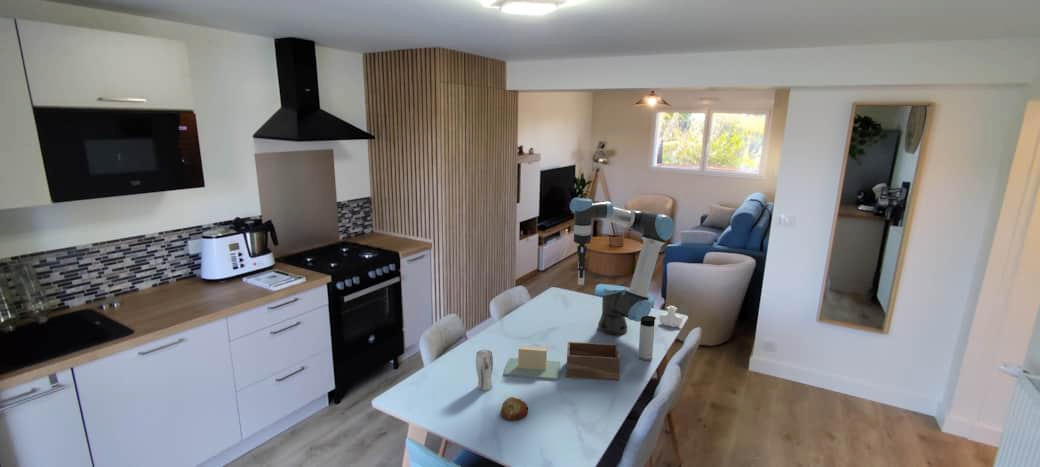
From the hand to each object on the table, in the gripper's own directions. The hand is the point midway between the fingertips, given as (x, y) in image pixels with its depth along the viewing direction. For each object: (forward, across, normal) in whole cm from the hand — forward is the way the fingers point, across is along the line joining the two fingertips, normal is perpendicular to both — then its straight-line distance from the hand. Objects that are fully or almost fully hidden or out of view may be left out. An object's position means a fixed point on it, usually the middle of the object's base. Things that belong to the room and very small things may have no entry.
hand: (580, 279), depth 219 cm
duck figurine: (+37, -42, +50) cm, 75 cm away
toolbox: (+37, +15, +6) cm, 40 cm away
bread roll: (+37, +51, -24) cm, 67 cm away
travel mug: (+37, -1, +31) cm, 48 cm away
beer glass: (+37, +34, -38) cm, 63 cm away
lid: (+37, +17, -20) cm, 46 cm away
